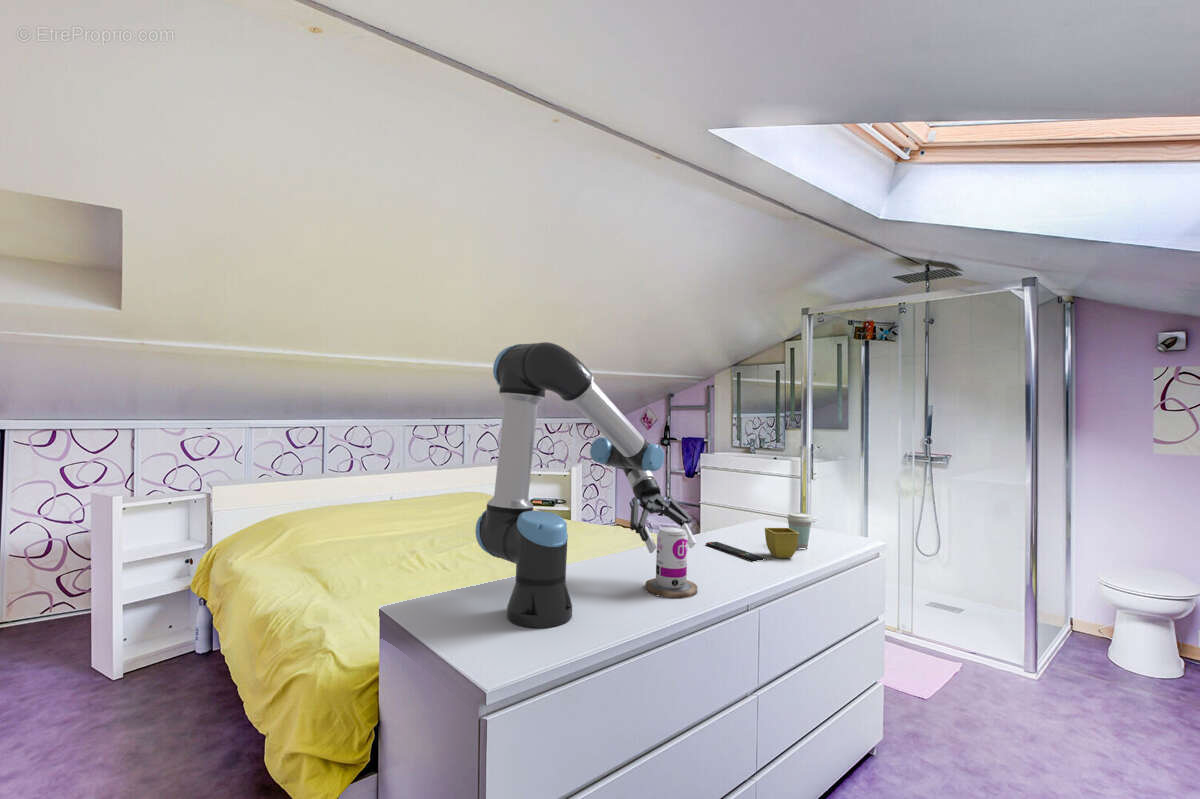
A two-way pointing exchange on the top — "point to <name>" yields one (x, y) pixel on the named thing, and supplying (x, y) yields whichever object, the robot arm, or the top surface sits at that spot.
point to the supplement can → (671, 557)
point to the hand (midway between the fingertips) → (673, 548)
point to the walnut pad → (685, 591)
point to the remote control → (735, 551)
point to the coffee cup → (800, 527)
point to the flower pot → (781, 541)
